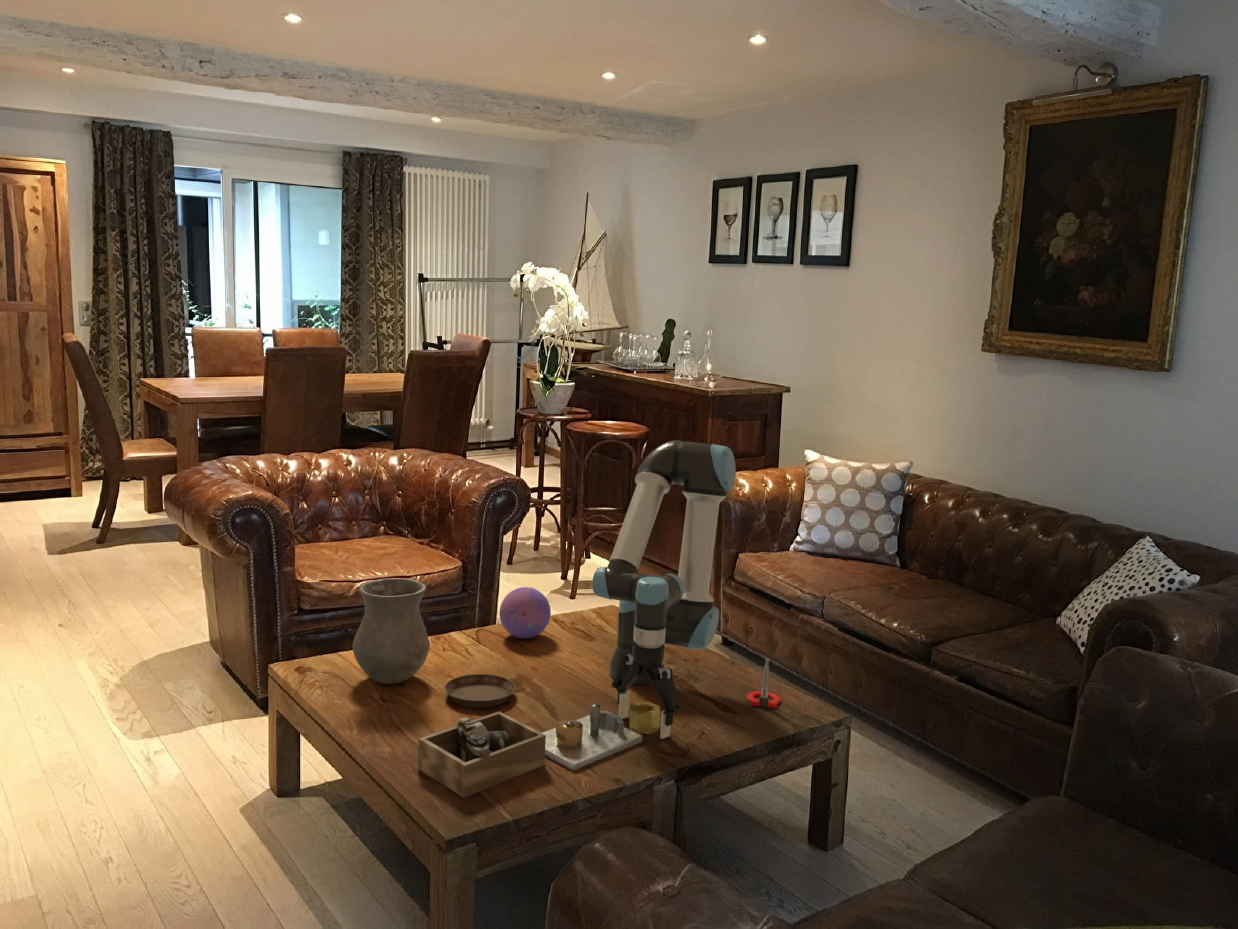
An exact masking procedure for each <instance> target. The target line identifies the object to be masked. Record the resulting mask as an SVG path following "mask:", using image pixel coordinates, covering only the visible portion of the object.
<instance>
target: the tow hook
mask: <svg viewBox="0 0 1238 929" xmlns="http://www.w3.org/2000/svg"><path fill="white" fill-rule="evenodd" d="M769 660H770V659H769V658H768V657H766V658H765V663H764V664H765V665H764V668H763V678H762V687H761V689H760V690H761V691H757V690H756V691H751V692H749V693H748V694H747V695H746V696H747V697H746V698H747V701H749V702H750V706H752V707H759V708H767V709H777V706H778V704H780V702H781V698H780V697H779V696H778V695H776V694H775V693H772V692H769V687H768V685H769V684H768V683H769V672H770V670H769V669H770V666H769ZM756 697H759V699H757V698H756ZM769 698H770V699H772V700H769Z"/></svg>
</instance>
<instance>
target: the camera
mask: <svg viewBox="0 0 1238 929" xmlns="http://www.w3.org/2000/svg"><path fill="white" fill-rule="evenodd" d="M470 721H471V720H470V719H469V717H466V716H465V717H461V718H460V719H459V720H458V723H457V724H456V726H457V754H458V757H457V758H459V759H460V760H462V761H464V762H468V761H471V760H474V759H476V758H479V757H482V756H485V755H488V754H490V753H492V752H495V751H498V750H500V749H503V748H506V747H508V746H511V742H510V738H509V735H508V733H507V732H506V731H489V732H488V731H487V729H486V728H485V727H484V726H483V724H482V723H481V722H477V723H474V724H473V722H470Z"/></svg>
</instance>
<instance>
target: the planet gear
mask: <svg viewBox="0 0 1238 929" xmlns="http://www.w3.org/2000/svg"><path fill="white" fill-rule="evenodd" d="M660 713H661V709H660V706H659V705H658V704H656V703H654V702H651V701H637V702H634V703H631V704H629V717H628V718H629V722H628V727H629V728H628V729H629V730H631V731H633V732H635V733H638V734H640V735H651V734H654V733H657V732H660V731H659V730H660V729H659V728H660V719H661V714H660Z"/></svg>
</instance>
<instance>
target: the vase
mask: <svg viewBox="0 0 1238 929" xmlns="http://www.w3.org/2000/svg"><path fill="white" fill-rule="evenodd" d="M426 590H427V584H424V583H422V582H420V581H419V580H416V579H409V578H401V577H399V578H398V577H397V578H396V577H392V578H382V579H376V580H371V581H367V582H365V583H363V584H362V585H360V587H359V593H360V595H361V598H362V599H363V604H364V615H363V617H362V621H361V623H360V625H359V627H358V630H357V632H356V634H355V636H354V639H353V642H352V651H353V655H354V657H355V658H354V659H355V661H356V662H357V664H358V666H359V667H360V669H361V670H362V671H363V672H364V674H366V675H367V676H368V677H369V678H370V679H371V680H373V681H374V682H376V683H380V684H385V685H395V684H401V683H403V682H405V681H406V682H407V681H408V680H409V679H410V678H411V677H413V676H414V675H416V673H417V672H419V671H420V669H421V668H422V667H423V665H424V664H425V662H426V660H427V658H428V655H429V651H430V648H431V644H430V640H429V637H428V633H427V630H426V627H425V625H424V621H423V618H422V614H421V611H420V603H421V602H422V599H423V597H424V595H425V593H426Z"/></svg>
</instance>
